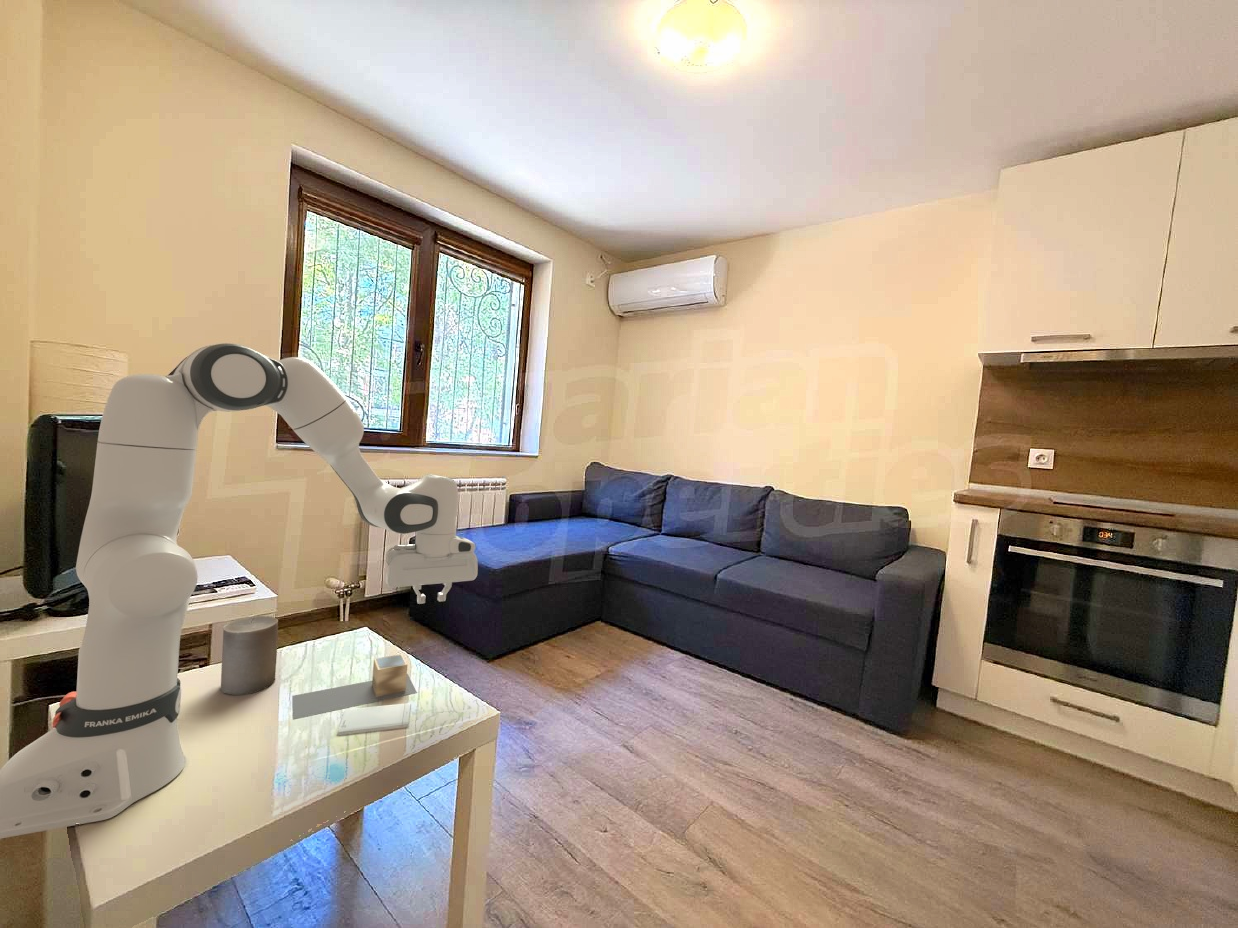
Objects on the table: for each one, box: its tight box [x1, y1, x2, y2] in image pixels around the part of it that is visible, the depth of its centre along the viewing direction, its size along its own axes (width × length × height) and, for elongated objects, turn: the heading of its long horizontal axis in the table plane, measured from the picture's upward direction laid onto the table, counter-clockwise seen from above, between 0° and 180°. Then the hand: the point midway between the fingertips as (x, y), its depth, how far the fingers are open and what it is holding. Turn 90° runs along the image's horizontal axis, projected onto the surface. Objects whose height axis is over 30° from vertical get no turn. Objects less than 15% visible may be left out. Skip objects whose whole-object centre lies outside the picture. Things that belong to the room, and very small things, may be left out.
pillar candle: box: [220, 615, 279, 696], centre depth 104 cm, size 10×10×15 cm
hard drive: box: [336, 702, 412, 736], centre depth 95 cm, size 2×8×12 cm
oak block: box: [371, 653, 409, 697], centre depth 107 cm, size 6×6×6 cm
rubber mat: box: [292, 673, 418, 721], centre depth 104 cm, size 23×10×1 cm, turn 125°
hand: (431, 601), depth 112 cm, fingers open, 3 cm apart
